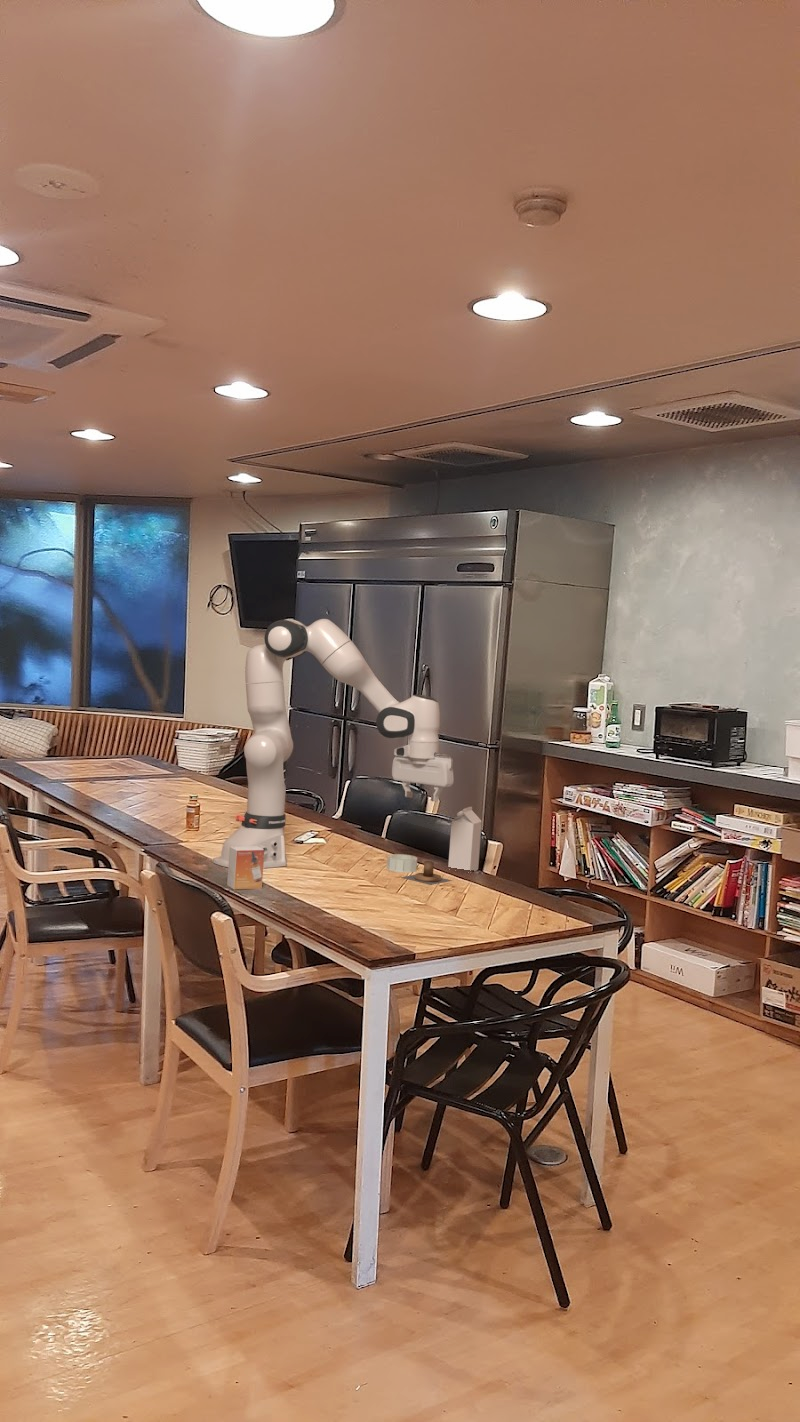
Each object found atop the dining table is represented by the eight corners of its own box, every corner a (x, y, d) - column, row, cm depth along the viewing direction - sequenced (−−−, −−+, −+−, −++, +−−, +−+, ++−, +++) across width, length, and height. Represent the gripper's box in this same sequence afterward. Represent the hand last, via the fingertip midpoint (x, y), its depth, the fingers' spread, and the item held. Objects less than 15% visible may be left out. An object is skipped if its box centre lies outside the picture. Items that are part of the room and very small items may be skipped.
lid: (430, 883, 306) (431, 865, 306) (409, 878, 311) (410, 861, 310) (446, 880, 312) (447, 862, 312) (425, 875, 317) (426, 858, 316)
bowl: (403, 875, 317) (404, 861, 316) (381, 869, 322) (382, 856, 322) (422, 871, 323) (423, 858, 323) (399, 866, 329) (400, 853, 328)
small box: (233, 890, 284) (235, 850, 283) (226, 885, 289) (228, 846, 288) (262, 889, 288) (265, 849, 287) (255, 884, 293) (257, 845, 292)
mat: (430, 886, 304) (430, 884, 304) (400, 878, 311) (400, 877, 311) (452, 881, 312) (452, 880, 312) (422, 874, 319) (422, 873, 319)
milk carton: (478, 870, 331) (482, 808, 330) (469, 873, 325) (474, 810, 324) (456, 866, 334) (461, 805, 333) (447, 870, 328) (452, 807, 326)
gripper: (459, 754, 310) (457, 802, 311) (403, 747, 323) (401, 794, 324) (445, 755, 305) (443, 804, 306) (389, 748, 318) (387, 796, 319)
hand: (421, 799), depth 315 cm, fingers open, 8 cm apart
